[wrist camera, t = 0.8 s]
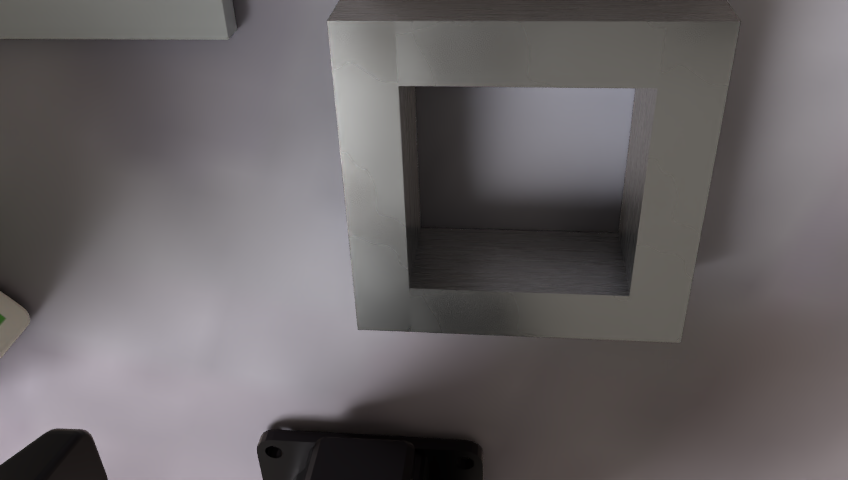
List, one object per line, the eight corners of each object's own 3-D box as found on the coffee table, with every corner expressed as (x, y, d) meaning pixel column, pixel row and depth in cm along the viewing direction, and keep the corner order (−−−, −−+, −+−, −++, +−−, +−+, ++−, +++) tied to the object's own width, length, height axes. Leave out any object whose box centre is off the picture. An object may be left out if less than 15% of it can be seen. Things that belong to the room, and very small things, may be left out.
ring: (664, 276, 19) (680, 342, 17) (374, 267, 20) (357, 329, 18) (712, -20, 15) (740, 21, 13) (350, -19, 16) (326, 20, 14)
